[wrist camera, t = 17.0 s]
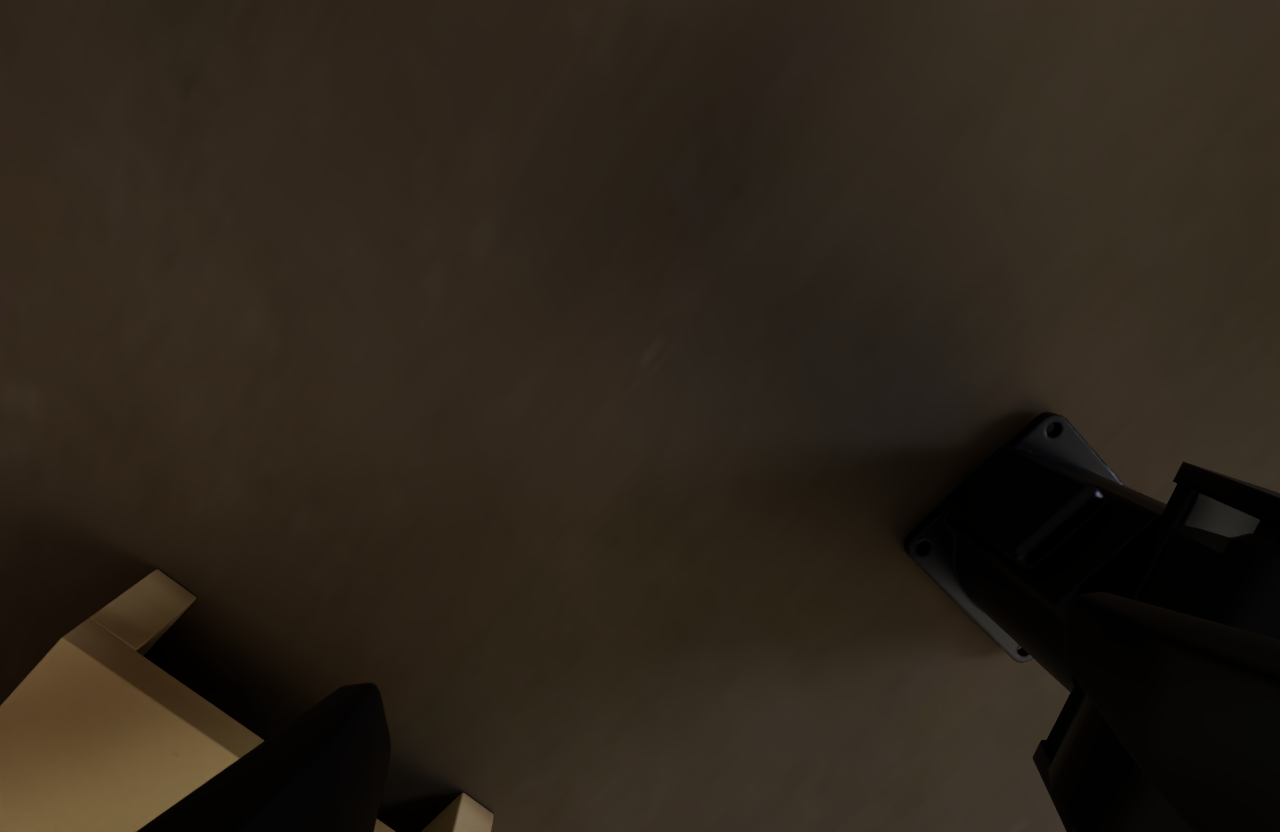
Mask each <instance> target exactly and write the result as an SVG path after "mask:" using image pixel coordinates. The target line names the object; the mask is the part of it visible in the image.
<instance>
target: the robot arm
mask: <svg viewBox="0 0 1280 832" xmlns="http://www.w3.org/2000/svg"><path fill="white" fill-rule="evenodd" d="M1051 423H1053V424H1054V428H1053V430H1052V431H1051V433H1049V434H1047V433H1046V431H1047V427H1048V426H1049V425H1050V424H1051ZM1173 481H1174V482H1176V483H1178V484H1177V486H1176V488H1175V490H1174V492H1173V494H1172V496H1171V497H1170V499H1169V501H1168V503H1167V504H1164V503H1162V502H1160V501H1158V500H1155V499H1153V498H1151V497H1148V496H1146V495H1144V494H1142V493H1139V492H1137V491H1135V490H1133V489H1130V488H1128V487H1126V486H1124V484H1123V483H1122V482H1121V481H1120V480H1119V479H1118V478H1117V476H1116V475H1115V474H1114V473H1113V472H1112V471H1111V470H1110V468H1109V467H1108V466H1107V465H1106V464H1105V463H1104V462H1103V460H1102V459H1101V458H1100V457H1099V456H1098V455H1097V453H1096V452H1095V451H1094V450H1093V449H1092V448H1091V447H1090V445H1089V444H1088V443H1087V442H1086V441H1085V440H1084V439H1083V437H1082V436H1081V435H1080V434H1079V433H1078V432H1077V431H1076V429H1075V428H1074V427H1073V426H1072V425H1071V424H1070V422H1069V421H1068V420H1067V419H1066V418H1064V417H1063V416H1061V415H1058V414H1056V413H1052V412H1045V413H1042V414H1040V415H1039V416H1037V417H1036V418H1035V419H1034V420H1033V421H1032V422H1030V423H1029V424H1028V425H1027V426H1026V427H1025V428H1024V429H1023V430H1022V431H1021V432H1020V433H1018V434H1017V435H1016V436H1015V437H1014V438H1013V439H1012V440H1011V441H1010V442H1009V443H1007V444H1006V445H1005V446H1002V447H1000V448H999V449H998V450H997V451H996V452H995V453H993V454H992V455H991V456H990V457H989V458H988V459H987V460H986V461H985V462H984V463H983V464H981V465H980V466H979V467H978V468H977V469H976V470H975V471H974V472H973V473H972V474H971V475H969V476H968V477H967V478H966V479H965V480H964V481H963V482H962V483H961V484H960V485H959V486H957V487H956V488H955V489H954V490H953V491H952V492H951V493H950V494H949V495H948V496H947V497H946V498H945V501H944V502H943V503H942V504H941V505H940V506H939V507H938V508H936V509H935V510H934V511H933V512H932V513H931V514H930V515H929V516H928V517H927V518H926V519H924V520H923V521H922V522H921V523H920V524H919V525H918V526H917V527H916V528H915V529H914V530H912V531H911V532H910V533H909V534H908V535H907V537H906V538H905V541H904V550H905V551H906V553H907V554H908V555H909V556H910V557H911V558H912V559H913V560H914V561H915V562H916V563H917V564H918V565H919V566H920V567H921V568H922V569H923V570H924V571H925V572H926V573H927V574H928V575H929V576H930V577H931V578H932V579H933V580H934V581H935V582H936V583H937V584H938V585H939V586H940V587H941V588H942V589H943V590H944V591H945V592H946V593H947V594H948V595H949V596H950V597H951V598H952V599H953V600H954V601H955V602H956V603H957V604H958V605H959V606H960V607H961V608H962V609H963V610H964V611H965V612H966V613H967V614H968V615H969V616H970V617H971V618H972V619H973V620H974V621H975V622H976V623H977V624H978V625H979V626H980V627H981V628H982V629H983V630H984V631H985V632H986V633H987V634H988V635H989V636H990V637H991V638H992V639H993V640H994V641H995V642H996V643H997V644H998V645H999V646H1000V647H1001V648H1002V649H1003V650H1004V651H1005V652H1006V653H1007V654H1008V655H1009V656H1010V657H1011V658H1012V659H1013V660H1015V661H1017V662H1021V663H1024V662H1028V661H1030V660H1031V659H1033V658H1034V659H1035V660H1036V661H1037V662H1038V663H1039V664H1040V665H1041V666H1042V667H1043V668H1045V669H1046V670H1047V671H1048V672H1049V673H1050V674H1051V675H1052V676H1053V677H1054V678H1055V679H1056V680H1058V681H1059V682H1060V683H1061V684H1062V685H1063V686H1064V687H1065V688H1066V689H1067V690H1068V691H1069V692H1070V695H1069V697H1068V699H1067V701H1066V703H1065V705H1064V707H1063V709H1062V711H1061V713H1060V715H1059V717H1058V719H1057V721H1056V723H1055V725H1054V727H1053V729H1052V730H1051V732H1050V734H1049V736H1048V738H1047V740H1041V741H1040V743H1039V745H1038V747H1037V749H1036V751H1035V753H1034V755H1033V760H1034V762H1035V765H1036V767H1037V769H1038V771H1039V773H1040V775H1041V777H1042V780H1043V782H1044V784H1045V786H1046V788H1047V790H1048V792H1049V795H1050V797H1051V799H1052V801H1053V803H1054V805H1055V807H1056V810H1057V812H1058V814H1059V816H1060V818H1061V820H1062V822H1063V825H1064V827H1065V829H1066V831H1067V832H1280V493H1278V492H1275V491H1272V490H1269V489H1266V488H1263V487H1259V486H1256V485H1253V484H1250V483H1247V482H1244V481H1241V480H1238V479H1235V478H1232V477H1229V476H1226V475H1223V474H1220V473H1217V472H1214V471H1210V470H1207V469H1204V468H1201V467H1198V466H1195V465H1192V464H1189V463H1186V462H1182V464H1181V466H1180V468H1179V470H1178V472H1177V474H1176V476H1175V478H1174V480H1173ZM922 541H926V544H925V546H924V548H923V549H921V550H916V547H917V545H918V544H919V543H921V542H922ZM1019 646H1021V647H1022V648H1021V649H1019V650H1017V649H1018V647H1019ZM390 752H391V743H390V735H389V731H388V726H387V721H386V717H385V712H384V707H383V703H382V698H381V694H380V691H379V689H378V687H377V686H376V685H375V684H373V683H363V684H355V685H346V686H343V687H340V688H339V689H337V690H336V691H334V692H333V693H332V694H330V695H329V696H327V697H326V698H325V699H323V700H322V701H320V702H319V703H317V704H316V705H315V706H313V707H312V708H310V709H309V710H308V711H306V712H305V713H303V714H302V715H300V716H299V717H298V718H296V719H295V720H293V721H292V722H291V723H289V724H288V725H286V726H285V727H283V728H282V729H281V730H279V731H278V732H276V733H275V734H274V735H272V736H271V737H269V738H268V739H266V740H265V741H264V742H262V743H261V744H259V745H258V746H257V747H255V748H254V749H252V750H251V751H249V752H248V753H247V754H245V755H244V756H242V757H241V758H240V759H238V760H237V761H235V762H234V763H232V764H231V765H230V766H228V767H227V768H225V769H224V770H223V771H221V772H220V773H218V774H217V775H216V776H214V777H213V778H211V779H210V780H208V781H207V782H206V783H204V784H203V785H201V786H200V787H199V788H197V789H196V790H194V791H193V792H191V793H190V794H189V795H187V796H186V797H184V798H183V799H182V800H180V801H179V802H177V803H176V804H174V805H173V806H172V807H170V808H169V809H167V810H166V811H165V812H163V813H162V814H160V815H159V816H157V817H156V818H155V819H153V820H152V821H150V822H149V823H148V824H146V825H145V826H143V827H142V828H140V829H139V830H138V831H136V832H374V829H375V824H376V820H377V815H378V810H379V806H380V801H381V797H382V792H383V787H384V783H385V778H386V774H387V769H388V765H389V760H390Z"/></svg>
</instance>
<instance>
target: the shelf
mask: <svg viewBox="0 0 1280 832" xmlns="http://www.w3.org/2000/svg"><path fill="white" fill-rule="evenodd" d="M195 600H196V597H195V596H194V595H192V594H191V593H190V592H188V591H187V590H186V589H184V588H183V587H181V586H180V585H179V584H177V583H176V582H175V581H173V580H172V579H170V578H169V577H168V576H166V575H165V574H164V573H162V572H161V571H159V570H158V569H156V570H154V571H153V572H152V573H150V574H149V575H147V576H146V577H145V578H143V579H142V580H140V581H139V582H138V583H136V584H135V585H134V586H132V587H131V588H129V589H128V590H127V591H125V592H124V593H122V594H121V595H120V596H118V597H117V598H116V599H114V600H113V601H111V602H110V603H109V604H107V605H106V606H104V607H103V608H102V609H100V610H99V611H98V612H96V613H95V614H93V615H92V616H91V617H89V618H88V619H87V620H85V621H84V622H82V623H81V624H80V625H78V626H77V627H75V628H74V629H73V630H71V631H70V632H68V633H67V634H66V635H64V636H63V637H62V638H61V639H60V640H59V641H58V642H57V643H56V644H55V645H54V646H53V647H52V649H51V650H50V651H49V652H48V653H47V654H46V655H45V656H44V657H43V659H42V660H41V661H40V662H39V663H38V664H37V665H36V666H35V668H34V669H33V670H32V671H31V672H30V673H29V674H28V675H27V676H26V678H25V679H24V680H23V681H22V682H21V683H20V684H19V685H18V687H17V688H16V689H15V690H14V691H13V692H12V693H11V694H10V695H9V697H8V698H7V699H6V700H5V701H4V702H3V703H2V704H1V705H0V832H136V831H138V830H139V829H140V828H142V827H143V826H145V825H146V824H148V823H149V822H150V821H152V820H153V819H155V818H156V817H157V816H159V815H160V814H162V813H163V812H165V811H166V810H167V809H169V808H170V807H172V806H173V805H174V804H176V803H177V802H179V801H180V800H182V799H183V798H184V797H186V796H187V795H189V794H190V793H191V792H193V791H194V790H196V789H197V788H199V787H200V786H201V785H203V784H204V783H206V782H207V781H208V780H210V779H211V778H213V777H214V776H216V775H217V774H218V773H220V772H221V771H223V770H224V769H225V768H227V767H228V766H230V765H231V764H232V763H234V762H235V761H237V760H238V759H240V758H241V757H242V756H244V755H245V754H247V753H248V752H249V751H251V750H252V749H254V748H255V747H257V746H258V745H259V744H261V743H262V742H264V740H263V739H261V738H260V737H259V736H257V735H256V734H254V733H253V732H251V731H250V730H249V729H247V728H246V727H244V726H243V725H241V724H240V723H238V722H237V721H236V720H234V719H233V718H231V717H230V716H228V715H227V714H225V713H224V712H223V711H221V710H220V709H218V708H217V707H215V706H214V705H213V704H211V703H210V702H208V701H207V700H205V699H204V698H202V697H201V696H200V695H198V694H197V693H195V692H194V691H192V690H191V689H189V688H188V687H187V686H185V685H184V684H182V683H181V682H179V681H178V680H177V679H175V678H174V677H172V676H171V675H169V674H168V673H166V672H165V671H164V670H162V669H161V668H159V667H158V666H156V665H155V664H153V663H152V662H151V661H149V660H148V659H146V658H145V657H143V656H144V655H145V654H146V653H147V652H148V651H149V650H150V648H151V647H152V646H153V645H154V644H155V643H156V642H157V641H158V640H159V639H160V638H161V637H162V635H163V634H164V633H165V632H166V631H167V630H168V629H169V628H170V627H171V626H172V625H173V624H174V622H175V621H176V620H177V619H178V618H179V617H180V616H181V615H182V614H183V613H184V612H185V611H186V609H187V608H188V607H189V606H190V605H191V604H192V603H193V602H194V601H195ZM493 817H494V815H493V814H492V813H491V812H490V811H488V810H487V809H485V808H484V807H483V806H481V805H480V804H479V803H477V802H476V801H474V800H473V799H472V798H470V797H469V796H468V795H466V794H465V793H461V794H460V795H459V796H458V797H457V798H456V799H455V800H454V801H453V802H452V803H451V804H449V805H448V806H447V807H446V808H445V809H444V810H443V811H442V812H441V813H440V814H439V815H438V816H437V817H436V818H435V819H434V820H433V821H432V822H431V823H430V824H429V825H427V826H426V827H425V828H424V829H423V830H422V831H421V832H491V828H492V823H493ZM374 832H395V831H394V830H393V829H391V828H390V827H388V826H387V825H385V824H384V823H382V822H381V821H380V820H378V819H377V820H376V824H375V829H374Z"/></svg>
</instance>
